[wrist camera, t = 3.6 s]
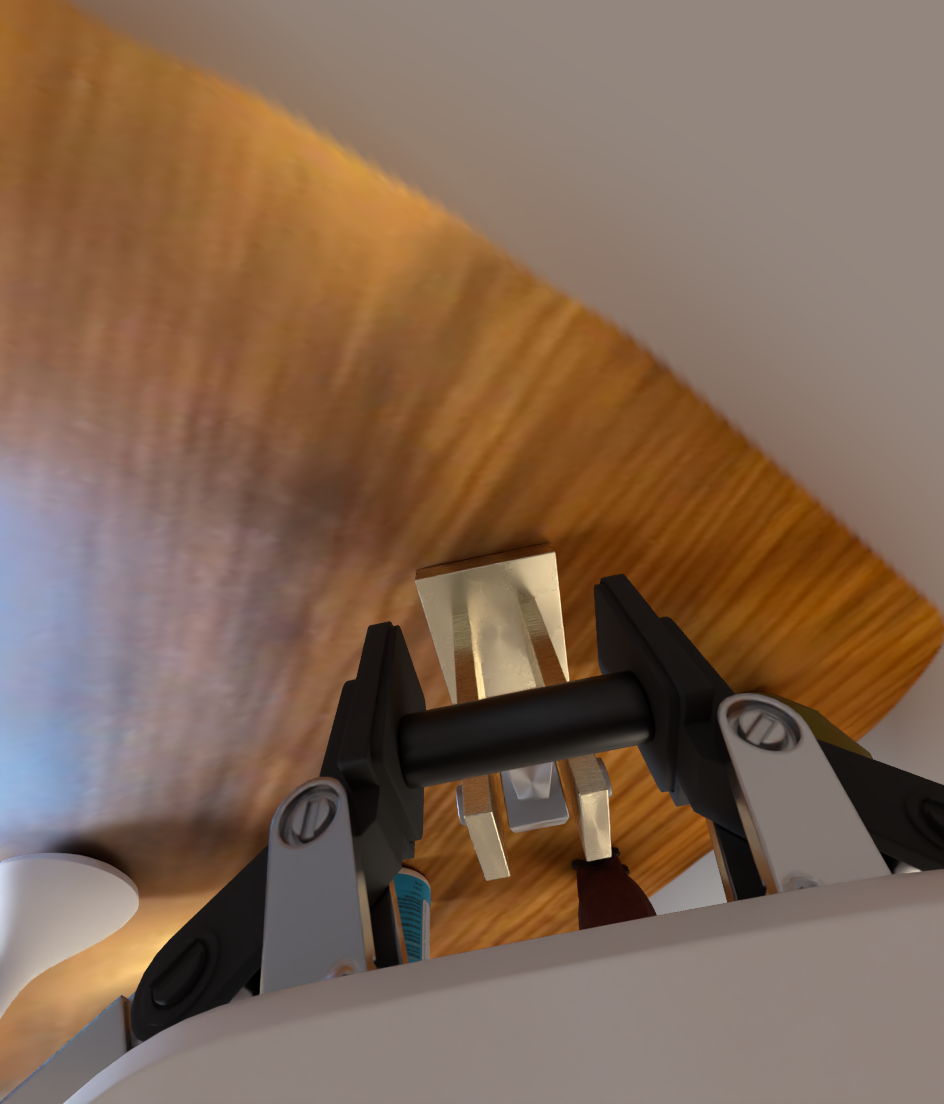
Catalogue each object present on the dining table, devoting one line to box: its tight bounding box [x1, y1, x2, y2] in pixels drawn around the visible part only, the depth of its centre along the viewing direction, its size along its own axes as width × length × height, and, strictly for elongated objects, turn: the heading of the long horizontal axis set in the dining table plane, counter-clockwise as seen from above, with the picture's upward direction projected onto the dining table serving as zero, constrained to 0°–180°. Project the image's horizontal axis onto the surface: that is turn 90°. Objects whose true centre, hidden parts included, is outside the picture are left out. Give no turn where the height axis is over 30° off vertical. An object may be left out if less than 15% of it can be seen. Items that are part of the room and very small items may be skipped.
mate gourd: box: [572, 848, 657, 930], centre depth 35 cm, size 8×8×15 cm
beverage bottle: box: [393, 867, 431, 963], centre depth 31 cm, size 8×8×20 cm
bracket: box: [415, 543, 612, 881], centre depth 21 cm, size 10×8×13 cm
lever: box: [398, 670, 655, 833], centre depth 13 cm, size 12×5×2 cm, turn 10°
